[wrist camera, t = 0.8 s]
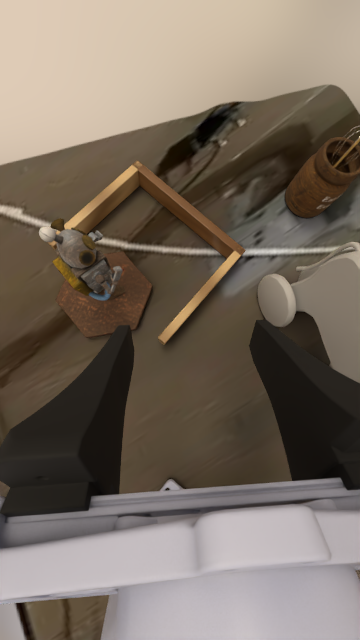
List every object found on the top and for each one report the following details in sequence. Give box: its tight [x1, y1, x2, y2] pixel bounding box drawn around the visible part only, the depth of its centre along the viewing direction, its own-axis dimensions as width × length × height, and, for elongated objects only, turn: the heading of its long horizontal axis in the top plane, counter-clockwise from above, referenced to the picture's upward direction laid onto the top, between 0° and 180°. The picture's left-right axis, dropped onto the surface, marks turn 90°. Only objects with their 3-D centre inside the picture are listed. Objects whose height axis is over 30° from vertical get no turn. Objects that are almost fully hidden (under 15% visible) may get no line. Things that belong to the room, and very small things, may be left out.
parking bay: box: [48, 160, 245, 345], centre depth 26 cm, size 14×17×2 cm
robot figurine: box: [39, 219, 152, 338], centre depth 20 cm, size 11×9×12 cm
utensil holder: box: [285, 125, 360, 218], centre depth 25 cm, size 6×6×12 cm
